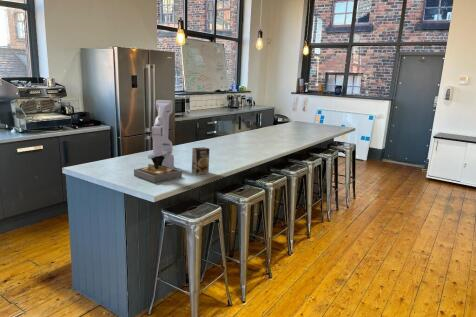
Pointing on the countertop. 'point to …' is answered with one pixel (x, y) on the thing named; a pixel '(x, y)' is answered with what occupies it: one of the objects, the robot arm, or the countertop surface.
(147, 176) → the charcoal crate
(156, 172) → the pine crate
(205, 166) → the coffee box
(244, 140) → the countertop surface
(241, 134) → the countertop surface
